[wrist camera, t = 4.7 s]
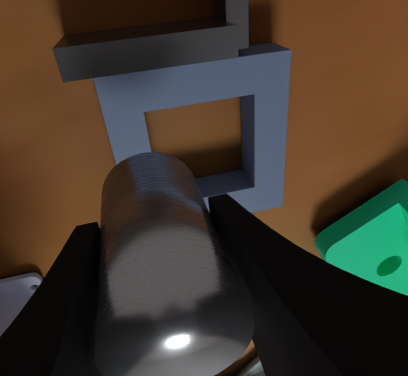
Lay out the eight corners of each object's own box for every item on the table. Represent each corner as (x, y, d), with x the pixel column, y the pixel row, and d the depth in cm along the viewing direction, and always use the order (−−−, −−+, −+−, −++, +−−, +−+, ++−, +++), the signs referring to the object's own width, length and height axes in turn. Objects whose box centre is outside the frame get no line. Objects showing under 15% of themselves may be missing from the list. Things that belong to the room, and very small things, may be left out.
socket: (268, 187, 22) (282, 205, 20) (133, 215, 21) (135, 238, 19) (272, 42, 17) (291, 49, 15) (95, 67, 16) (93, 78, 14)
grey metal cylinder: (202, 218, 13) (258, 363, 8) (117, 241, 13) (121, 407, 8) (188, 141, 11) (248, 268, 6) (87, 166, 11) (67, 321, 6)
